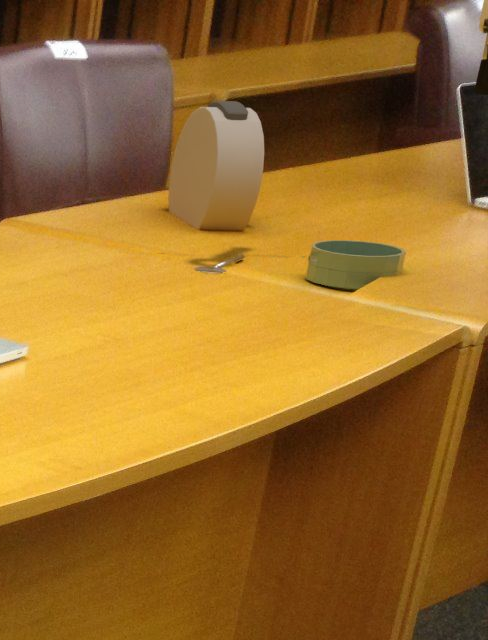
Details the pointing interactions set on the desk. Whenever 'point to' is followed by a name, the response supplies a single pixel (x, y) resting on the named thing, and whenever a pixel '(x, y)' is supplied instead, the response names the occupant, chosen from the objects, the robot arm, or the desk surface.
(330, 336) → the desk surface
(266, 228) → the desk surface
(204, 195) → the alarm clock
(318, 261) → the bowl
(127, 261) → the desk surface
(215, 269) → the spoon
